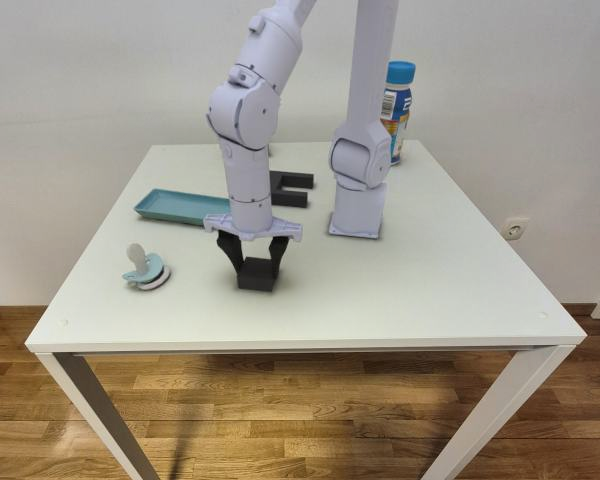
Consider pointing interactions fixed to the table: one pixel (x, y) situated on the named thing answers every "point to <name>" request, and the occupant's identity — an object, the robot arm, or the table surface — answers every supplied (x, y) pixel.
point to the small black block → (256, 274)
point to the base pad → (290, 180)
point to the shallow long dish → (181, 206)
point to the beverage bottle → (397, 104)
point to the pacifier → (145, 267)
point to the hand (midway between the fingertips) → (257, 273)
